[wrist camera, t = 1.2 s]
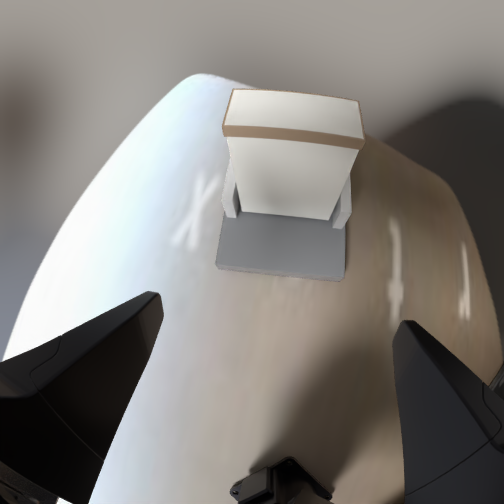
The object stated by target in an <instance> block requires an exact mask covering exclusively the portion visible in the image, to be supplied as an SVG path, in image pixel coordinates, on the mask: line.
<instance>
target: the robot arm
mask: <svg viewBox="0 0 504 504" xmlns="http://www.w3.org/2000/svg"><path fill="white" fill-rule="evenodd" d="M163 317H164V312H163V306H162V300H161V296H160V294H159V293H157V292H152V291H147V292H145V293H143V294H141V295H139V296H137V297H135V298H133V299H131V300H129V301H127V302H125V303H123V304H121V305H119V306H117V307H115V308H113V309H111V310H109V311H107V312H105V313H103V314H101V315H99V316H97V317H95V318H93V319H91V320H89V321H87V322H85V323H83V324H82V325H80V326H78V327H76V328H74V329H72V330H70V331H68V332H66V333H64V334H62V336H61V335H60V336H58V337H56V338H54V339H52V340H50V341H48V342H46V343H44V344H42V345H40V346H38V347H36V348H34V349H31V350H29V351H27V352H24V353H22V354H20V355H17V356H15V357H12V358H10V359H8V360H5V361H3V362H0V504H57V501H58V499H59V497H60V498H62V499H64V500H66V501H68V502H70V503H72V504H88V503H89V500H90V497H91V495H92V492H93V489H94V487H95V484H96V481H97V479H98V476H99V474H100V471H101V469H102V466H103V463H104V460H105V458H106V456H107V453H108V451H109V448H110V446H111V443H112V441H113V439H114V436H115V434H116V431H117V429H118V427H119V424H120V422H121V420H122V418H123V415H124V413H125V411H126V408H127V406H128V404H129V402H130V399H131V397H132V395H133V393H134V391H135V388H136V386H137V384H138V382H139V380H140V378H141V375H142V373H143V371H144V369H145V367H146V365H147V363H148V360H149V358H150V355H151V353H152V350H153V347H154V344H155V341H156V338H157V335H158V332H159V330H160V327H161V324H162V321H163ZM392 347H393V359H394V373H395V386H396V393H397V400H398V407H399V415H400V423H401V433H402V444H403V457H404V478H405V504H504V401H503V400H502V399H501V398H500V397H499V396H498V395H497V394H496V393H495V392H493V391H492V390H491V389H490V388H489V387H488V386H487V385H486V384H485V383H484V382H483V383H482V380H481V379H480V378H479V377H478V376H476V375H475V374H474V373H473V372H472V371H471V370H470V369H469V368H468V367H467V366H466V365H465V364H463V363H462V362H461V361H460V360H459V359H458V358H457V357H456V356H455V355H453V354H452V353H451V352H450V351H449V350H448V349H447V348H446V347H444V346H443V345H442V344H441V343H440V342H439V341H438V340H436V339H435V338H434V337H433V336H432V335H431V334H430V333H428V332H427V331H426V330H425V329H424V328H423V327H421V326H420V325H419V324H418V323H417V322H415V321H414V320H403V321H402V322H401V323H400V325H399V328H398V330H397V332H396V334H395V336H394V338H393V343H392ZM288 461H292V463H291V464H288V463H287V462H288ZM233 491H238V493H235V492H233ZM230 494H231V496H233V497H234V498H235V499H236V500H237V501H238V504H334V503H332V502H330V501H329V500H331V499H332V494H331V492H329V491H328V490H327V489H326V488H325V487H324V486H323V485H322V484H321V483H320V482H318V481H317V480H316V479H315V478H314V477H313V476H312V475H311V474H310V473H309V472H308V471H307V470H306V469H305V468H304V467H303V466H302V465H301V464H300V463H299V462H298V461H297V460H296V459H295V458H293V457H286V458H284V459H283V460H281V461H280V462H278V463H276V464H275V465H273V466H271V467H265V468H263V469H262V470H260V471H258V472H256V473H254V474H253V475H251V476H249V477H247V478H245V479H243V481H242V483H240V484H238V485H236V486H234V487H232V488H231V489H230ZM325 496H328V497H326V498H324V497H325Z"/></svg>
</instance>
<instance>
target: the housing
mask: <svg viewBox="0 0 504 504" xmlns="http://www.w3.org/2000/svg"><path fill="white" fill-rule="evenodd" d="M221 201H222V204H223V207H224V210H225V212H224V217H223V222H222V228H221V234H220V239H219V245H218V251H217V256H216V262H215V264H216V266H217V267H218V269H224V270H232V271H241V272H250V273H259V274H268V275H277V276H287V277H297V278H307V279H317V280H327V281H338V282H340V281H341V280H342V279H343V278H344V270H345V223H346V222H347V220H348V218H349V217H350V215H351V213H352V212H351V185H350V173H349V175H348V178H347V180H346V182H345V185H344V187H343V189H342V192H341V194H340V196H339V198H338V201H337V203H336V205H335V207H334V209H333V212H332V214H331V216H330V218H329V220H322V219H313V218H304V217H295V216H285V215H275V214H264V213H254V212H242V209H241V204H240V199H239V194H238V190H237V185H236V180H235V175H234V170H233V166H232V161H231V156H230V160H229V165H228V169H227V174H226V179H225V184H224V189H223V193H222V198H221Z"/></svg>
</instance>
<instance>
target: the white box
mask: <svg viewBox="0 0 504 504" xmlns="http://www.w3.org/2000/svg"><path fill="white" fill-rule="evenodd" d="M222 130H223V135H224V137H227V142H228V146H229V151H230V156H231V161H232V166H233V170H234V175H235V180H236V185H237V190H238V194H239V199H240V204H241V209H242V212H254V213H264V214H275V215H285V216H295V217H304V218H313V219H322V220H329V218H330V216H331V214H332V212H333V209H334V207H335V205H336V203H337V201H338V198H339V196H340V194H341V192H342V189H343V187H344V185H345V182H346V180H347V178H348V175H349V173H350V171H351V168H352V166H353V164H354V161H355V159H356V156H357V154H358V152H359V150H362V148H363V146H364V144H365V141H366V140H365V133H364V127H363V121H362V115H361V110H360V104H359V101H357V100H351V99H346V98H340V97H334V96H327V95H320V94H311V93H303V92H293V91H281V90H264V89H232V93H231V96H230V99H229V103H228V106H227V110H226V113H225V117H224V120H223V124H222Z"/></svg>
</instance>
